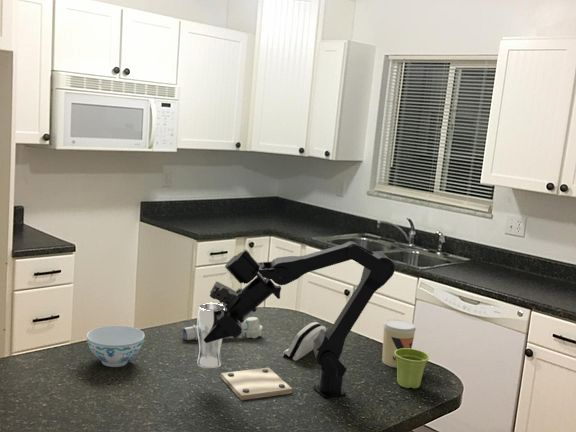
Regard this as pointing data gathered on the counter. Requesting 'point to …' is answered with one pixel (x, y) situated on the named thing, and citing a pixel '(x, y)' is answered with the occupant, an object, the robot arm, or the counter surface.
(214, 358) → the metal tumbler
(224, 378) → the bolt plate
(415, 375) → the plant pot
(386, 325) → the cream lidded tub
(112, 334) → the chinaware
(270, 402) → the counter surface
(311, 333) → the white layered curved block
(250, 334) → the grey long bar
